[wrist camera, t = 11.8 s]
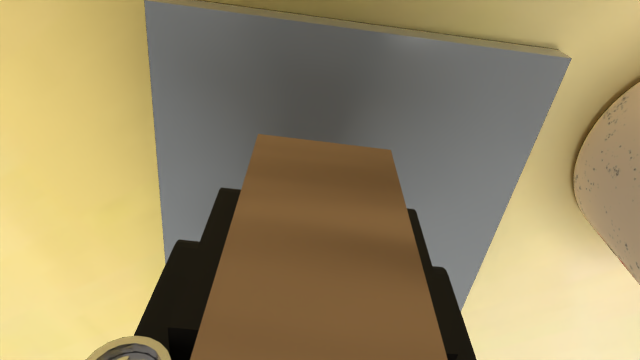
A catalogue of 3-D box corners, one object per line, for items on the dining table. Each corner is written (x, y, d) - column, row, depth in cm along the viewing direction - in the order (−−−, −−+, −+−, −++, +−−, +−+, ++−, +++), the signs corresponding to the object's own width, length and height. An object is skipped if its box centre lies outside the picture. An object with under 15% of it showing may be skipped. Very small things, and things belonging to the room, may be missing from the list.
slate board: (154, -6, 15) (143, 0, 14) (558, 49, 15) (571, 58, 15) (179, 363, 25) (174, 379, 25) (418, 385, 26) (421, 401, 25)
